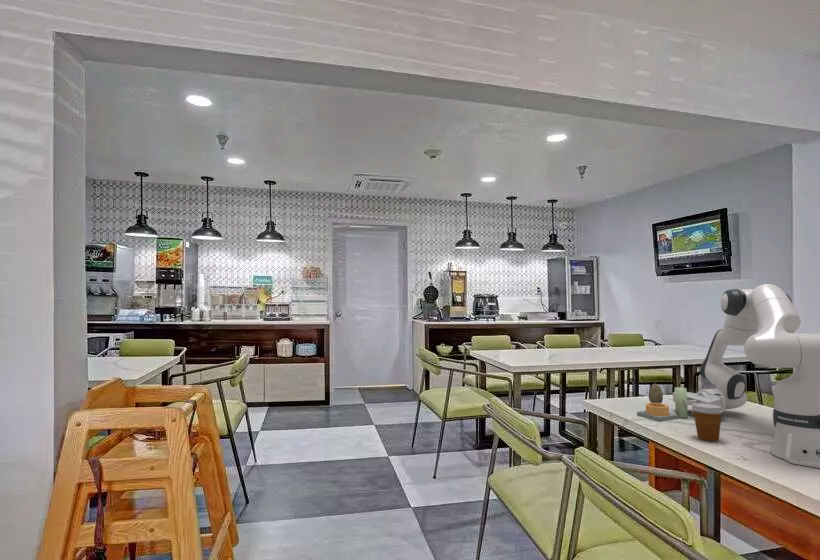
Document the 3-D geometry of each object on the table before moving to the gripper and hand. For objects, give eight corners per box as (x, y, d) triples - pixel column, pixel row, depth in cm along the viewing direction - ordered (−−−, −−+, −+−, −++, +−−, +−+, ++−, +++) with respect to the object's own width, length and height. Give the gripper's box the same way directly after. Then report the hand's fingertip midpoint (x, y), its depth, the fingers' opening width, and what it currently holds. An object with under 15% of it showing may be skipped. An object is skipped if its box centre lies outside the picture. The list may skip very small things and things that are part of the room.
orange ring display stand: (678, 418, 187) (678, 406, 187) (659, 421, 183) (658, 409, 183) (656, 412, 197) (655, 401, 197) (637, 415, 193) (636, 403, 194)
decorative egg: (646, 404, 213) (645, 383, 213) (654, 402, 215) (653, 382, 215) (657, 406, 207) (656, 385, 208) (666, 405, 210) (665, 384, 210)
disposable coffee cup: (697, 441, 157) (696, 407, 158) (689, 434, 166) (687, 401, 167) (728, 444, 154) (727, 409, 155) (718, 435, 163) (717, 402, 164)
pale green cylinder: (689, 416, 189) (688, 388, 189) (685, 418, 186) (684, 389, 187) (678, 414, 192) (676, 386, 193) (674, 416, 189) (672, 388, 190)
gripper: (688, 387, 202) (661, 389, 200) (727, 397, 182) (697, 398, 180) (689, 401, 202) (662, 403, 199) (728, 412, 181) (698, 414, 179)
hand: (679, 401), depth 189 cm, fingers closed on pale green cylinder, 4 cm apart
